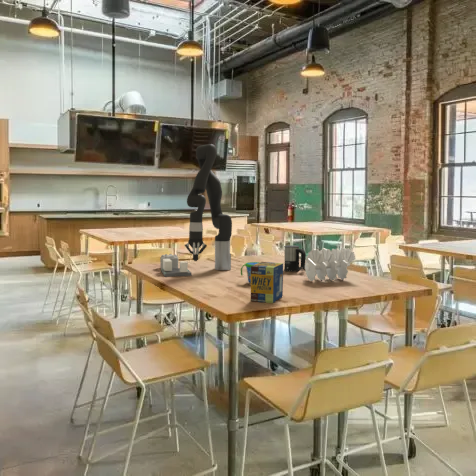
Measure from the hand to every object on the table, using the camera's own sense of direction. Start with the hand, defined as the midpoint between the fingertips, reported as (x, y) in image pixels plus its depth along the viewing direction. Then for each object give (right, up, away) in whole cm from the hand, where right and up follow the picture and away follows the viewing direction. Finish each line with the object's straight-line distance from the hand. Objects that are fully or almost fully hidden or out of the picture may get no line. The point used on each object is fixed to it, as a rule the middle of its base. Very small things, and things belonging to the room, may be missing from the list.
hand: (195, 260), depth 298 cm
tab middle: (-16, -6, +3) cm, 17 cm away
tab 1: (-17, -5, +9) cm, 20 cm away
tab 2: (-7, -6, -1) cm, 9 cm away
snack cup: (+33, -11, -24) cm, 42 cm away
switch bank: (-12, -7, +4) cm, 14 cm away
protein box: (+37, -14, -64) cm, 75 cm away
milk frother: (+59, -7, +19) cm, 63 cm away
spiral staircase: (+71, -10, -17) cm, 74 cm away
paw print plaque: (-18, -6, +24) cm, 30 cm away
